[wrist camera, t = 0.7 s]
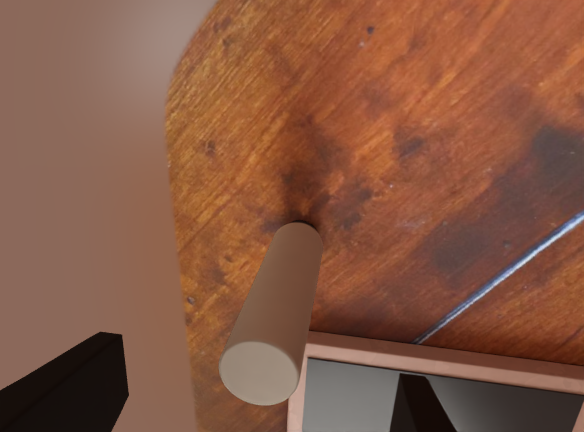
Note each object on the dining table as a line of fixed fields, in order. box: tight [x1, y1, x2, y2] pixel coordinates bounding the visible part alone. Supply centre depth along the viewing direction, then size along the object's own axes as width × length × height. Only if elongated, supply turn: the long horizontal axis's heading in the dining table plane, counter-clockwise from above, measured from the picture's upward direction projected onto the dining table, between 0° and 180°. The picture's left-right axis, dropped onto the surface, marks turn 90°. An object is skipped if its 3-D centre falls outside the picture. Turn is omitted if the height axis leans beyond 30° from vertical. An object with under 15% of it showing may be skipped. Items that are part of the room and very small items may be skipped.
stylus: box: [219, 220, 323, 405], centre depth 16 cm, size 2×2×9 cm
